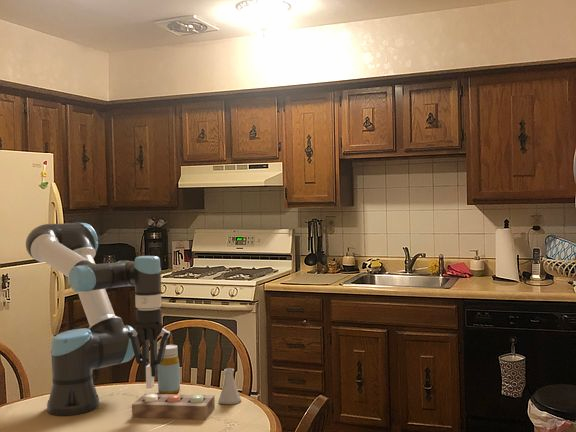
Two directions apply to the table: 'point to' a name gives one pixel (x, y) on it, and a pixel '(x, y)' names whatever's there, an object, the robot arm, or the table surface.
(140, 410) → the console
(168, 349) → the bottle
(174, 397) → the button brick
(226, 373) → the flask
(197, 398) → the button sage
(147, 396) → the button ivory
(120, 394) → the table surface
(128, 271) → the robot arm
